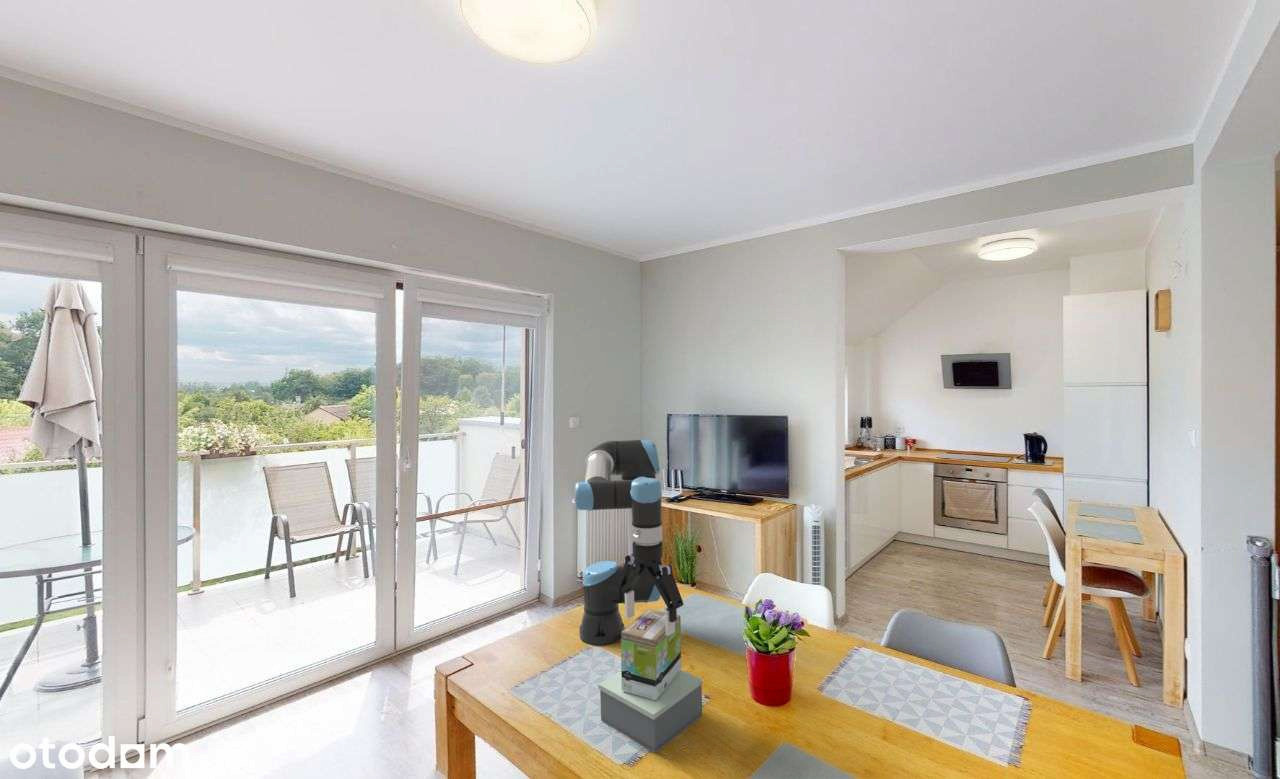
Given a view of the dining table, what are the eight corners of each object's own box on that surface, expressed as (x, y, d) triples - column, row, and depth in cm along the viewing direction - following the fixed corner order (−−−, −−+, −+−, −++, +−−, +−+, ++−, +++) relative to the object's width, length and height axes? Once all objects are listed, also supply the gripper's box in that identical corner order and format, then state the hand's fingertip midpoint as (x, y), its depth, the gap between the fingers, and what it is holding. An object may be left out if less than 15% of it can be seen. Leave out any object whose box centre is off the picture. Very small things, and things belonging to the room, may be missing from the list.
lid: (647, 658, 145) (647, 654, 145) (702, 683, 132) (702, 678, 132) (598, 688, 131) (598, 684, 131) (653, 719, 119) (653, 714, 119)
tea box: (658, 702, 123) (656, 639, 123) (620, 691, 128) (618, 631, 127) (682, 670, 136) (681, 613, 136) (648, 661, 141) (646, 606, 141)
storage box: (649, 688, 145) (648, 659, 144) (702, 715, 132) (701, 684, 132) (601, 720, 131) (600, 688, 131) (655, 753, 119) (654, 718, 119)
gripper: (602, 535, 137) (604, 615, 138) (676, 556, 120) (678, 647, 121) (622, 528, 143) (624, 605, 143) (696, 547, 126) (698, 635, 126)
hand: (649, 625), depth 132 cm, fingers open, 13 cm apart
